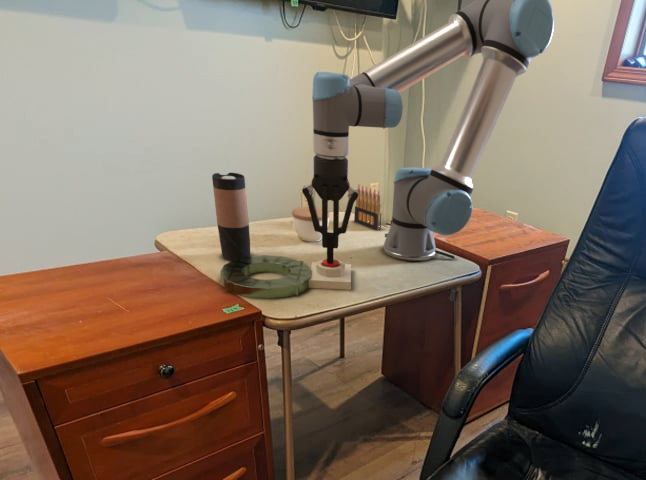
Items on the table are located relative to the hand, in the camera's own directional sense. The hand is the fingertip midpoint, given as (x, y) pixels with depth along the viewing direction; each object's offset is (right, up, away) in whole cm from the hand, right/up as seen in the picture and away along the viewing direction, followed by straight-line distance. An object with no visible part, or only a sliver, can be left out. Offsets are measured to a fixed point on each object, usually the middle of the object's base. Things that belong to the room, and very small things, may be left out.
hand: (330, 260), depth 126 cm
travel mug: (-26, +4, +10) cm, 28 cm away
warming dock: (-15, -5, -1) cm, 16 cm away
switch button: (0, -2, +1) cm, 2 cm away
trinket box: (-10, +14, +27) cm, 32 cm away
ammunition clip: (+5, +23, +43) cm, 49 cm away
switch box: (0, -4, +3) cm, 5 cm away
